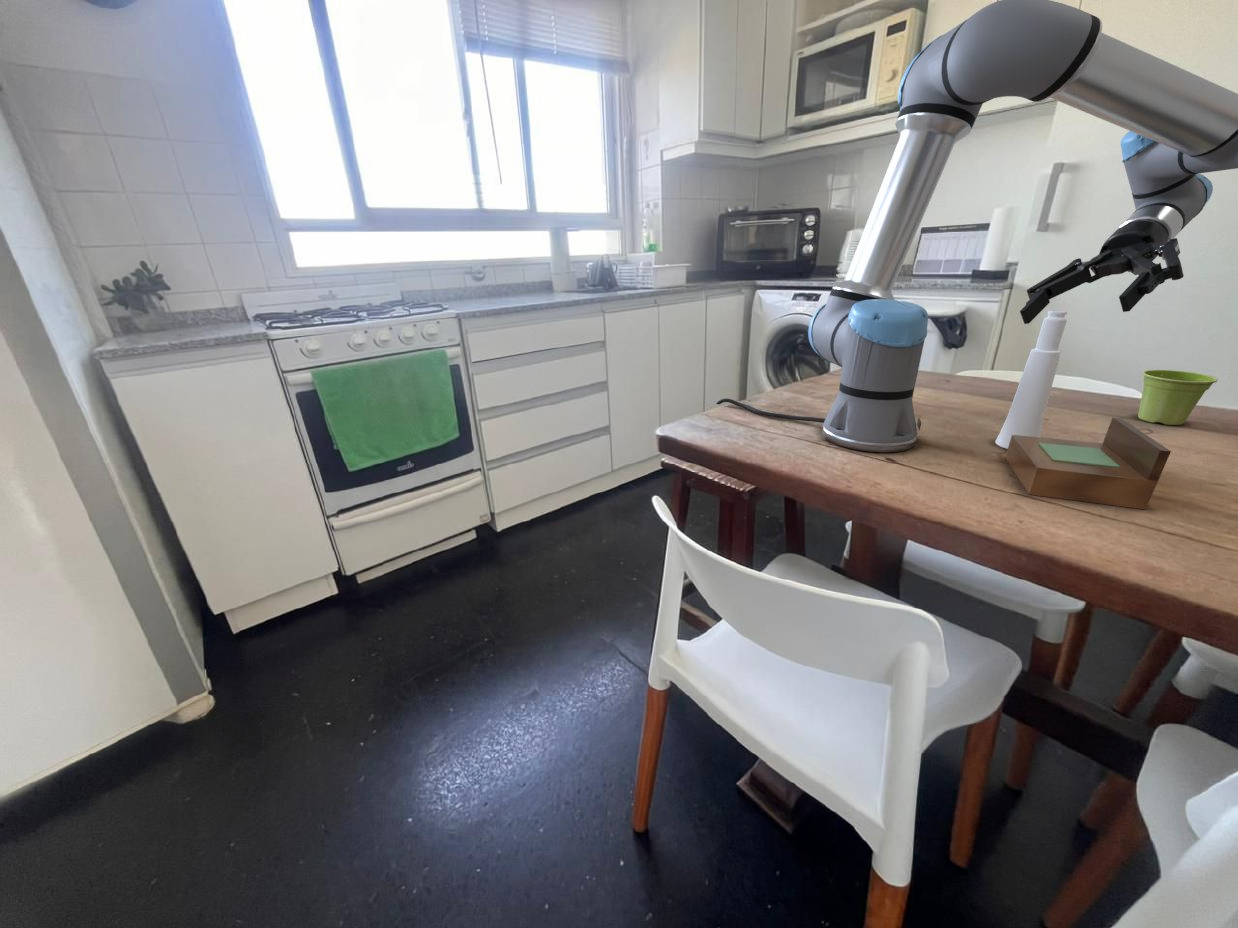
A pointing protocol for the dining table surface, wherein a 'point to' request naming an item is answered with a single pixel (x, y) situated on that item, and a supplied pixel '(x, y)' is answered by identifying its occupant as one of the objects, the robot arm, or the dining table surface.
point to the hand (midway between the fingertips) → (1070, 311)
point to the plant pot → (1171, 395)
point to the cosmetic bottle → (1035, 383)
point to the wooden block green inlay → (1091, 466)
